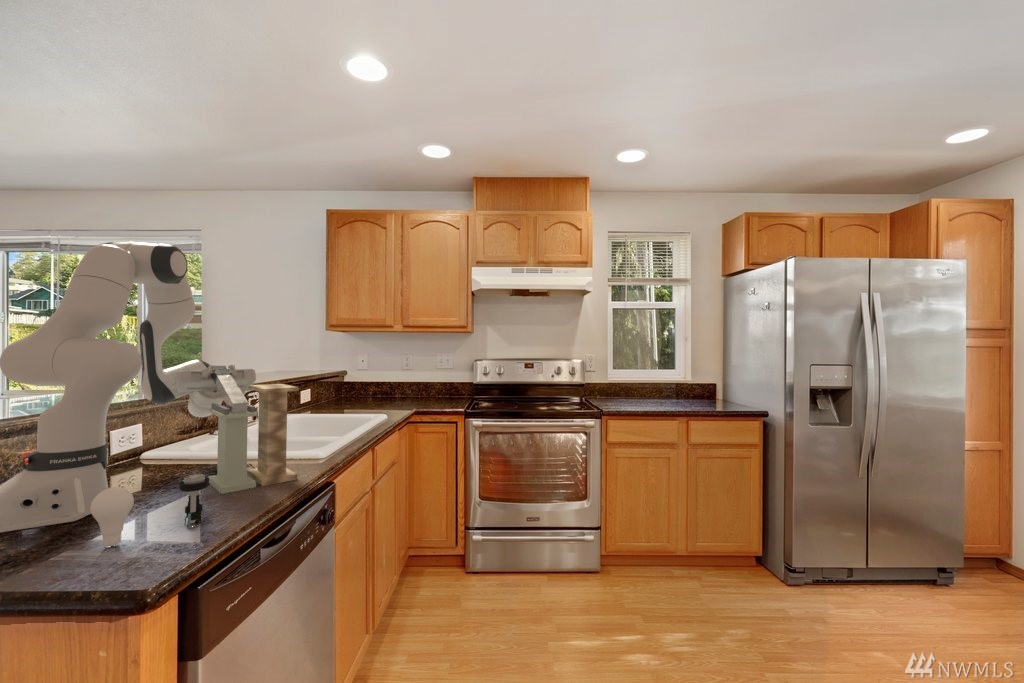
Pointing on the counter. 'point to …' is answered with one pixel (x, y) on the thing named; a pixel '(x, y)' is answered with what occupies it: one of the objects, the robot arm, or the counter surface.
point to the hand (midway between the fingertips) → (222, 367)
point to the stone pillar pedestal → (272, 435)
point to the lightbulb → (112, 512)
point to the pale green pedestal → (232, 450)
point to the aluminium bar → (229, 390)
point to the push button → (193, 497)
